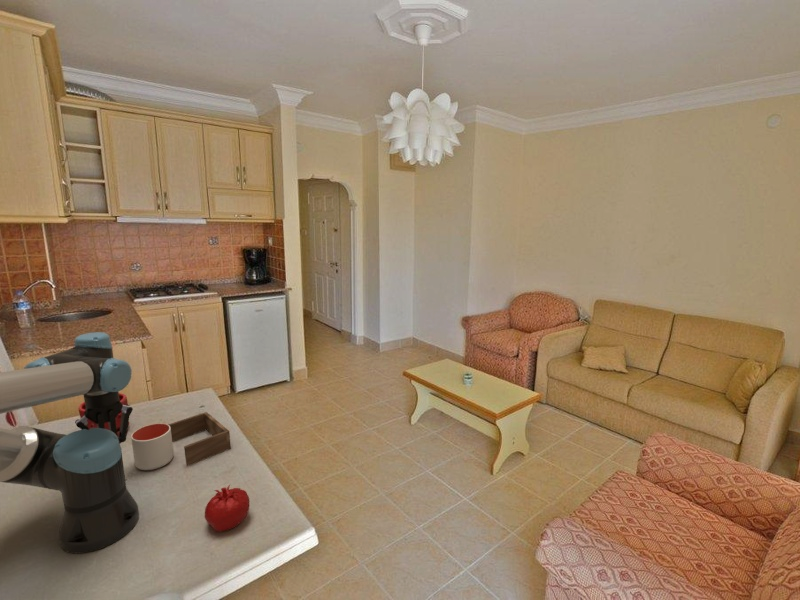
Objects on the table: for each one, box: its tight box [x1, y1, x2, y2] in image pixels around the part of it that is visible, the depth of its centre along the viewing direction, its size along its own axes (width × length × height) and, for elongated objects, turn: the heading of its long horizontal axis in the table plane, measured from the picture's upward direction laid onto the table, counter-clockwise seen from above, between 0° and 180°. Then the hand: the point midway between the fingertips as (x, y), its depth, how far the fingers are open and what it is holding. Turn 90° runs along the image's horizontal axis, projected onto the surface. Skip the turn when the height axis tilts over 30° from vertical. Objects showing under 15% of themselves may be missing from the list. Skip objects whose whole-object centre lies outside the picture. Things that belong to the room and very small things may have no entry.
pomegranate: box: [204, 484, 251, 533], centre depth 98 cm, size 10×10×9 cm
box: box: [167, 411, 232, 467], centre depth 130 cm, size 18×13×6 cm
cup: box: [130, 422, 175, 471], centre depth 121 cm, size 10×10×10 cm
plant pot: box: [77, 392, 130, 437], centre depth 136 cm, size 13×13×12 cm
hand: (113, 467), depth 114 cm, fingers closed
